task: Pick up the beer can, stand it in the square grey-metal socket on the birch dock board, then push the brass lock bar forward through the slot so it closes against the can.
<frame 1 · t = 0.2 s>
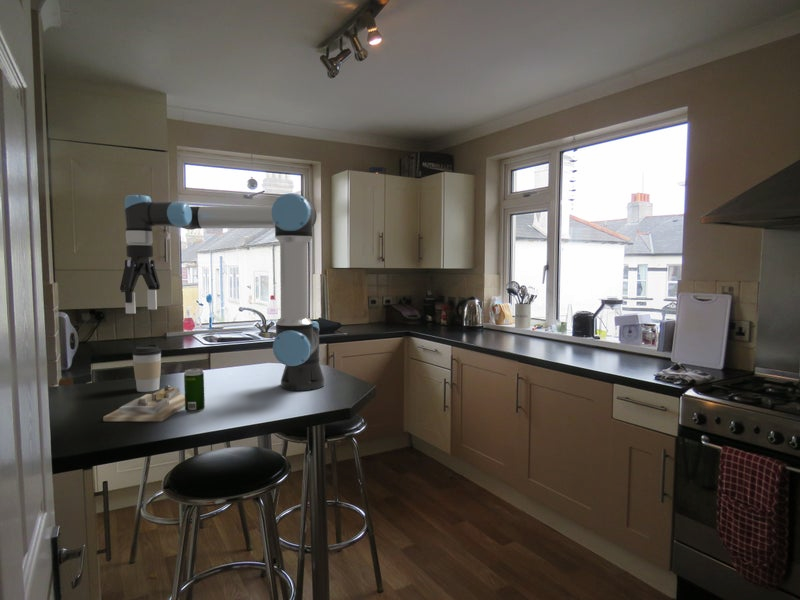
hand: (142, 311, 162), 28 cm above the table, fingers open, 13 cm apart
dock: (153, 408, 150), on the table
lock bar: (165, 391, 158), point 3 cm above the table, slide at 0.0 cm
coffee cup: (148, 389, 173), on the table
beer can: (195, 411, 148), on the table
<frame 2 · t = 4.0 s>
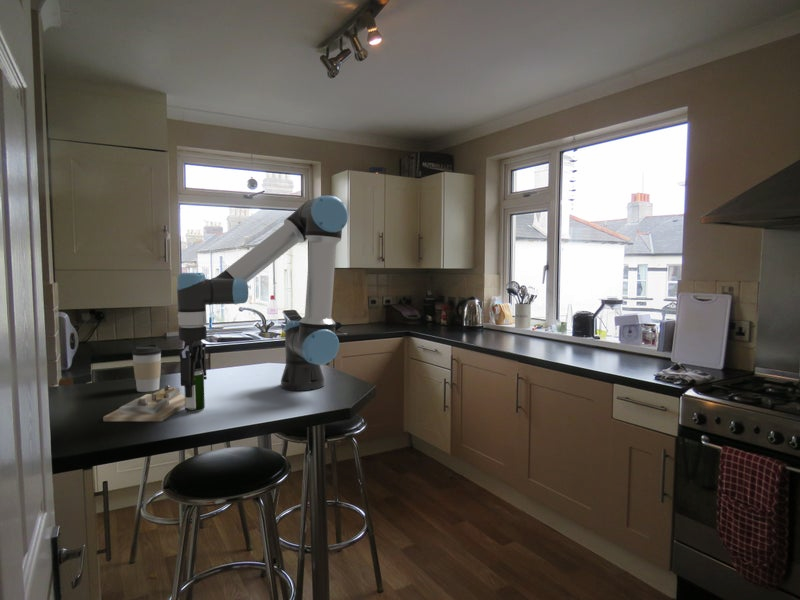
hand: (194, 404, 148), 2 cm above the table, fingers closed on beer can, 5 cm apart
beer can: (195, 411, 148), on the table, touching gripper
everything else where it was.
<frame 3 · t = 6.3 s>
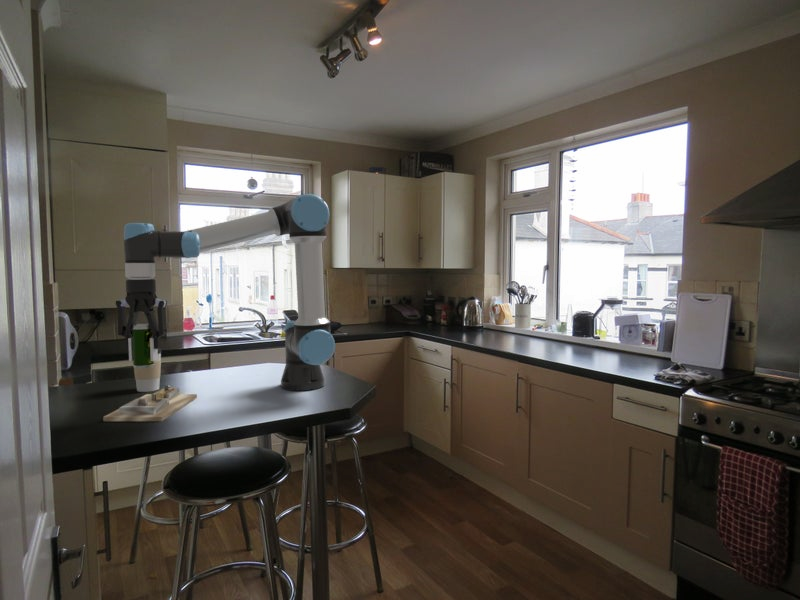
hand: (143, 359, 144), 16 cm above the table, fingers closed on beer can, 5 cm apart
beer can: (143, 367, 144), point 14 cm above the table, touching gripper
everything else where it was.
when the fingers open (4 cm above the table, at t = 8.9 s): beer can drops 1 cm, resting on dock.
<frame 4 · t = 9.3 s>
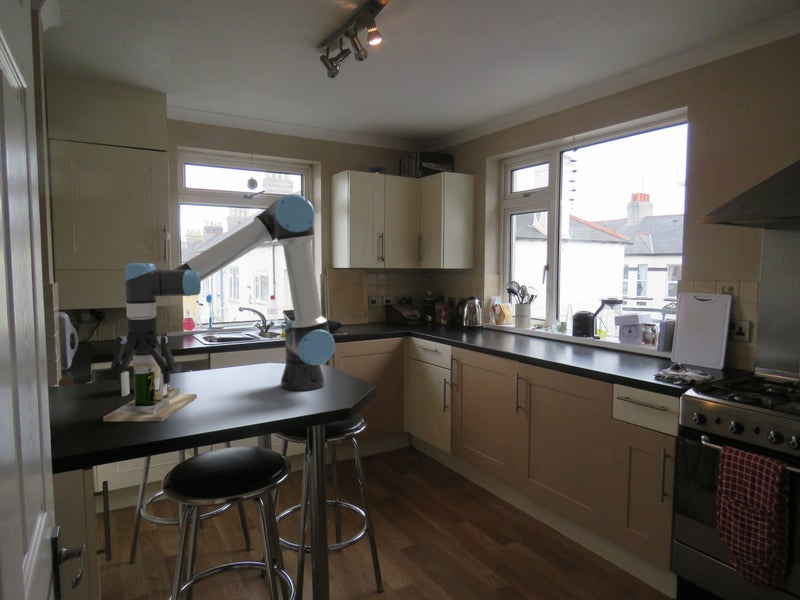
hand: (144, 394, 145), 5 cm above the table, fingers open, 10 cm apart
beer can: (145, 410, 145), point 1 cm above the table, touching dock
everything else where it was.
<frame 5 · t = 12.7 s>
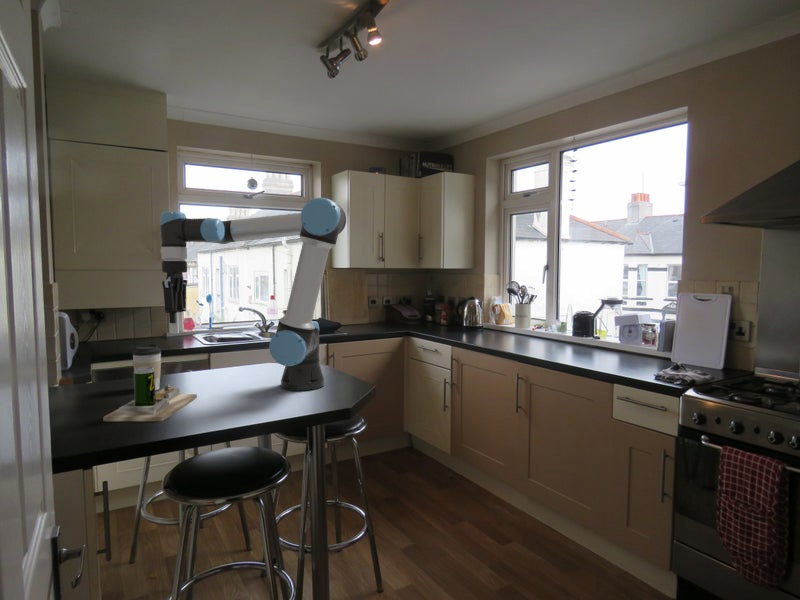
hand: (176, 332, 166), 21 cm above the table, fingers open, 3 cm apart
nothing on the table moved.
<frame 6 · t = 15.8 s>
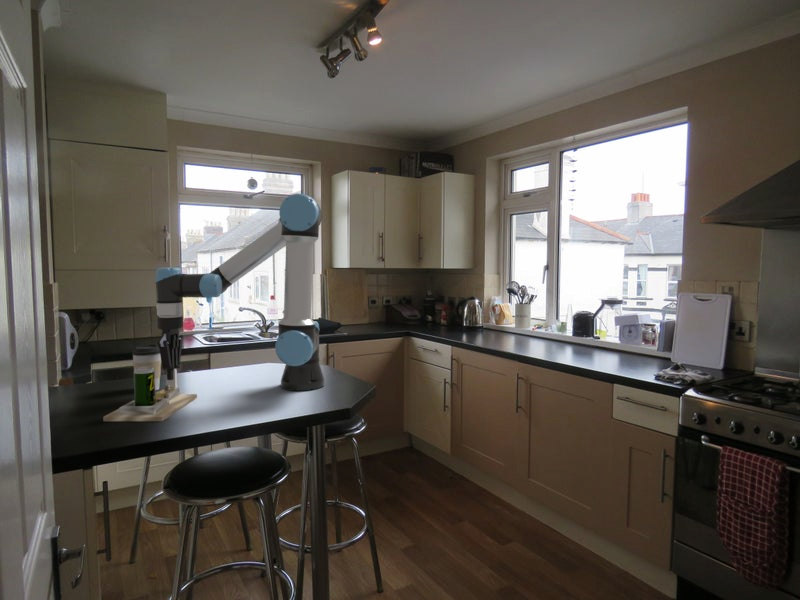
hand: (172, 389, 163), 3 cm above the table, fingers closed
lock bar: (165, 391, 158), point 3 cm above the table, slide at 0.0 cm, touching gripper
everything else where it was.
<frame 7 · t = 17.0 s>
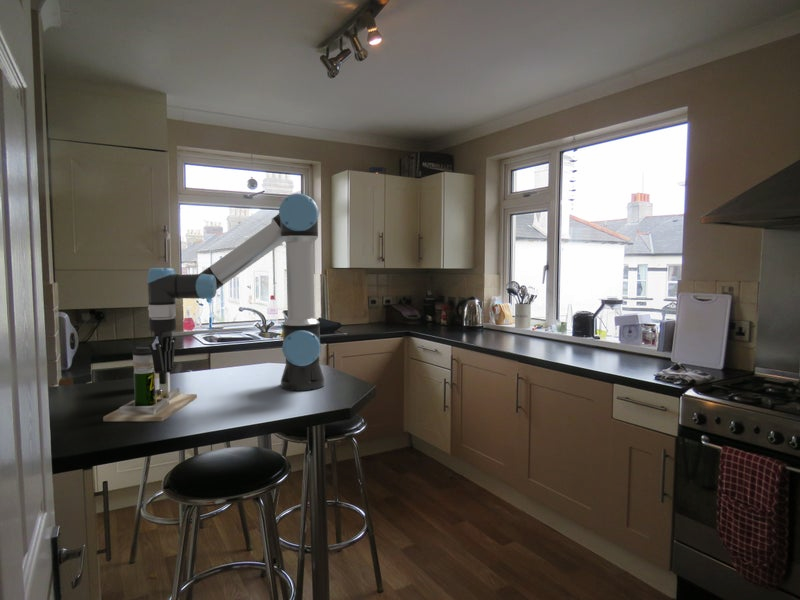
hand: (164, 393, 158), 3 cm above the table, fingers closed
lock bar: (157, 396, 153), point 3 cm above the table, slide at 5.2 cm, touching gripper
everything else where it was.
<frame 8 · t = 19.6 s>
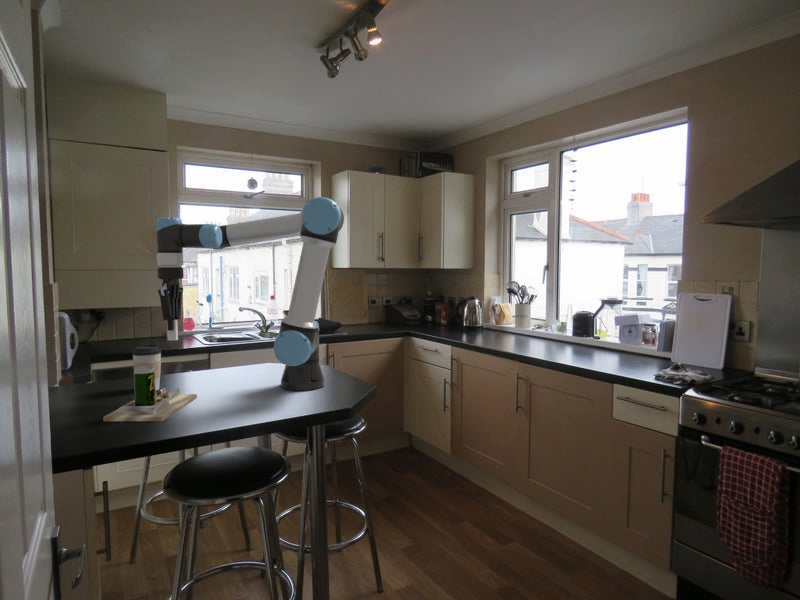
hand: (172, 340, 163), 18 cm above the table, fingers closed
lock bar: (157, 396, 153), point 3 cm above the table, slide at 5.3 cm
everything else where it was.
at the end: beer can 0.0 cm from the target spot on the dock, point 1.0 cm above the dock's base; beer can tilted 0°; lock bar slide at 5.3 cm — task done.
